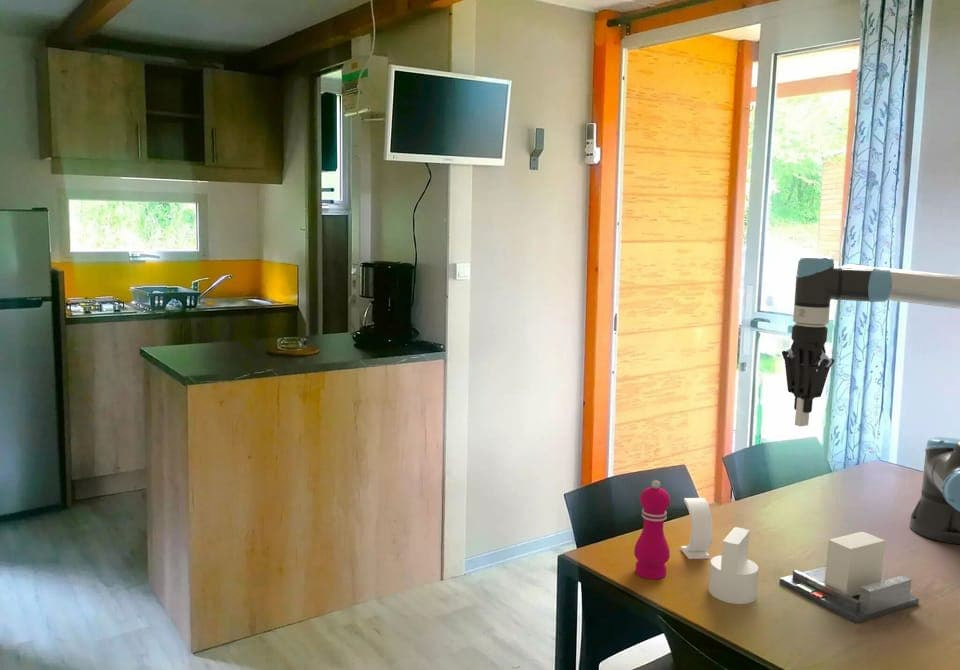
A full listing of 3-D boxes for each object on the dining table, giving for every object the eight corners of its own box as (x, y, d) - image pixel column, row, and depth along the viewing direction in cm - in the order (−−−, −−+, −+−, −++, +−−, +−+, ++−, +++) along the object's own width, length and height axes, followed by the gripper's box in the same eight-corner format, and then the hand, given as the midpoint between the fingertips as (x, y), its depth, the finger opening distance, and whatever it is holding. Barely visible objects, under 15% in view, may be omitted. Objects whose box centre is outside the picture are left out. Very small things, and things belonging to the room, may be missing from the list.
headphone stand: (700, 549, 181) (704, 497, 179) (710, 560, 175) (714, 507, 173) (680, 549, 180) (684, 498, 178) (690, 561, 174) (694, 507, 173)
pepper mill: (668, 582, 164) (674, 487, 161) (632, 578, 165) (638, 484, 162) (667, 567, 171) (673, 476, 168) (633, 563, 172) (638, 473, 169)
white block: (854, 576, 165) (859, 530, 163) (879, 588, 160) (885, 540, 158) (820, 585, 160) (825, 538, 159) (845, 598, 155) (850, 549, 154)
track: (839, 567, 173) (841, 542, 172) (918, 604, 157) (921, 576, 156) (779, 583, 165) (781, 557, 164) (856, 623, 149) (859, 594, 148)
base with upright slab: (749, 608, 154) (754, 548, 152) (702, 595, 158) (706, 537, 157) (760, 590, 161) (765, 533, 160) (715, 578, 166) (719, 523, 164)
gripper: (775, 321, 188) (768, 420, 191) (822, 329, 177) (813, 433, 180) (798, 320, 191) (790, 417, 195) (845, 327, 180) (836, 430, 183)
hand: (801, 425), depth 187 cm, fingers closed
